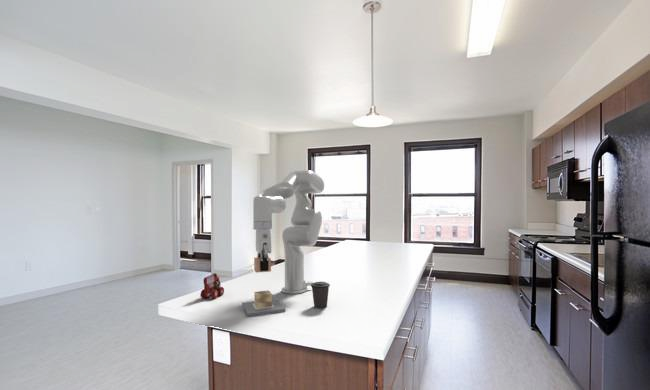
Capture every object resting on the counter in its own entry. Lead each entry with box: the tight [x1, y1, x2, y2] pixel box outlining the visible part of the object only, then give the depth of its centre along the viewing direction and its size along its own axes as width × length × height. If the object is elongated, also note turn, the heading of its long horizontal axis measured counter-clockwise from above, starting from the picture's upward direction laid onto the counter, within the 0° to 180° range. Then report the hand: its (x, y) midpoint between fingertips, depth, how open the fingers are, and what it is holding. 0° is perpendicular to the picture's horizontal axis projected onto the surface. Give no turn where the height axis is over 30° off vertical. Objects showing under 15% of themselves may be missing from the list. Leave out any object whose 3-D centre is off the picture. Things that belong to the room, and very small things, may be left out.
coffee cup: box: [310, 281, 331, 310], centre depth 132 cm, size 8×8×10 cm
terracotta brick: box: [253, 256, 272, 274], centre depth 131 cm, size 6×6×5 cm
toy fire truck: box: [200, 272, 225, 300], centre depth 148 cm, size 7×12×10 cm, turn 168°
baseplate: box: [241, 297, 286, 318], centre depth 130 cm, size 15×15×1 cm
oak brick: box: [253, 289, 273, 308], centre depth 131 cm, size 6×6×5 cm
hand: (262, 268), depth 131 cm, fingers closed on terracotta brick, 6 cm apart
